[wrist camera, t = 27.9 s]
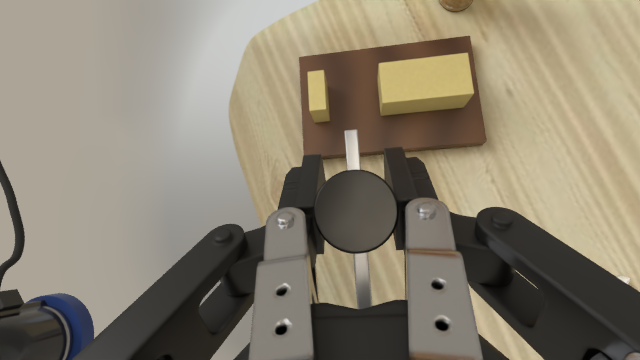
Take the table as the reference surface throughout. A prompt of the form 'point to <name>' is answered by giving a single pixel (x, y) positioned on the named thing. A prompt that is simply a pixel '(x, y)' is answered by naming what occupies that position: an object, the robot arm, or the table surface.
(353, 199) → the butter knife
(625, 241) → the table surface
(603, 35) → the table surface
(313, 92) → the butter pat
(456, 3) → the sprinkles bottle
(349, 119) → the butter board
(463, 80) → the butter block
